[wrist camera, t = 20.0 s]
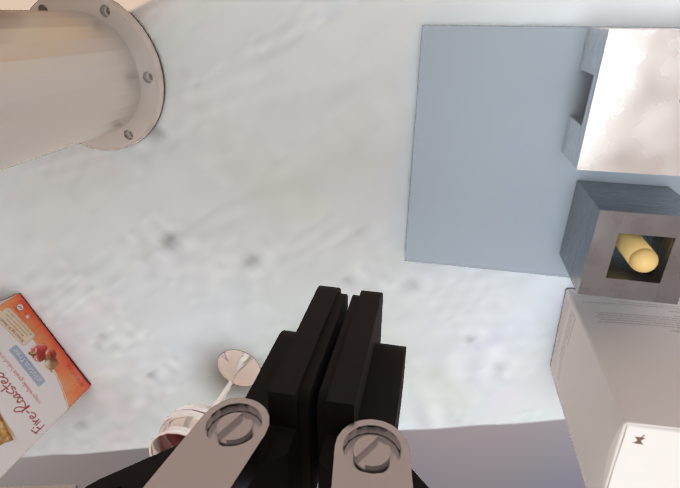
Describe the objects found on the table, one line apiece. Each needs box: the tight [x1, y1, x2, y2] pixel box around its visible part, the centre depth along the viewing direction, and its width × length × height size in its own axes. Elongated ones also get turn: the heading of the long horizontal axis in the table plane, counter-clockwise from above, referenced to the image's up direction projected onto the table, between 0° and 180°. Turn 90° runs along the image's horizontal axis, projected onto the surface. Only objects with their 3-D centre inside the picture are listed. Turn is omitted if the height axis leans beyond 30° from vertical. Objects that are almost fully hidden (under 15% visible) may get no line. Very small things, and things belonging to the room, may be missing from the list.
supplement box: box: [550, 289, 680, 488], centre depth 34 cm, size 9×9×15 cm
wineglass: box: [149, 350, 260, 456], centre depth 46 cm, size 7×7×12 cm
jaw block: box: [559, 180, 680, 305], centre depth 32 cm, size 6×6×6 cm
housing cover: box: [562, 27, 680, 176], centre depth 29 cm, size 7×8×4 cm
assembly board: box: [405, 25, 680, 277], centre depth 32 cm, size 20×18×9 cm
